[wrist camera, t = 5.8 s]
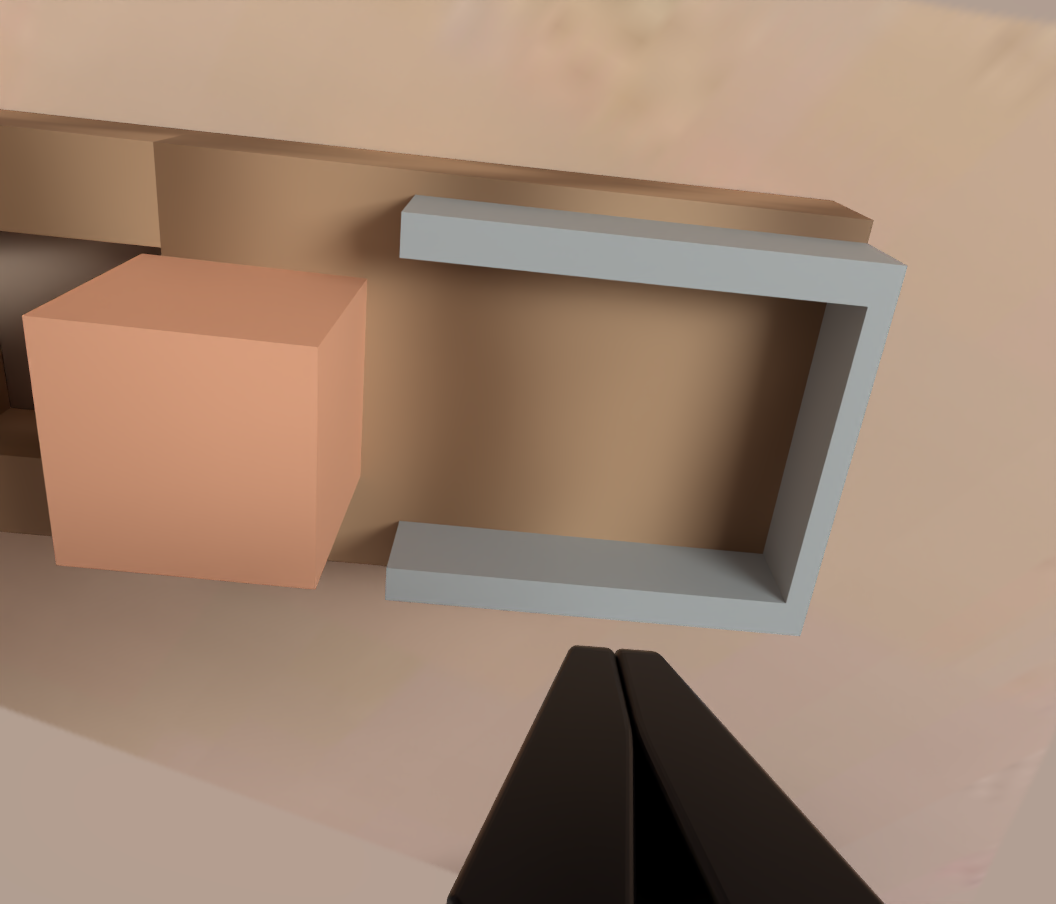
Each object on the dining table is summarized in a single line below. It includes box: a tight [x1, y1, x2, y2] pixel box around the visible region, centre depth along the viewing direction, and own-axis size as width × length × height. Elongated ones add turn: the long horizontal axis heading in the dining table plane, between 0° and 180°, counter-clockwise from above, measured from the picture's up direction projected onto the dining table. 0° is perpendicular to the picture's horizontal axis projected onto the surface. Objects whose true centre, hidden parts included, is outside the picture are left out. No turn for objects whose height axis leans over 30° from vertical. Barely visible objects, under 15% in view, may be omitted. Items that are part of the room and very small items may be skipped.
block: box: [22, 254, 367, 589], centre depth 16 cm, size 4×4×4 cm
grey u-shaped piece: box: [385, 195, 907, 636], centre depth 18 cm, size 9×8×2 cm
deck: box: [0, 109, 874, 566], centre depth 20 cm, size 20×9×2 cm, turn 84°
